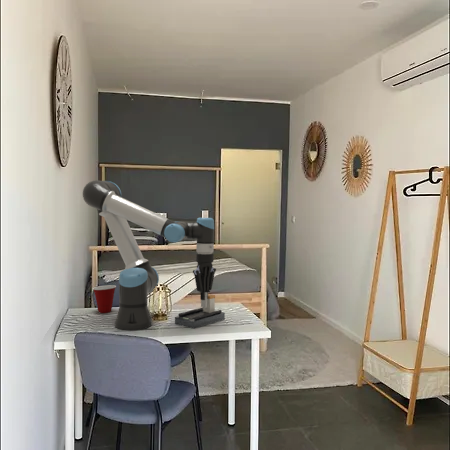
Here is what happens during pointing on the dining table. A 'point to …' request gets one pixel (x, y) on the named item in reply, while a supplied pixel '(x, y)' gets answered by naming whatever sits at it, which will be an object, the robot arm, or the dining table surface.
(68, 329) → the dining table surface
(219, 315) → the switch panel
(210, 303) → the switch knob
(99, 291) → the plastic cup
